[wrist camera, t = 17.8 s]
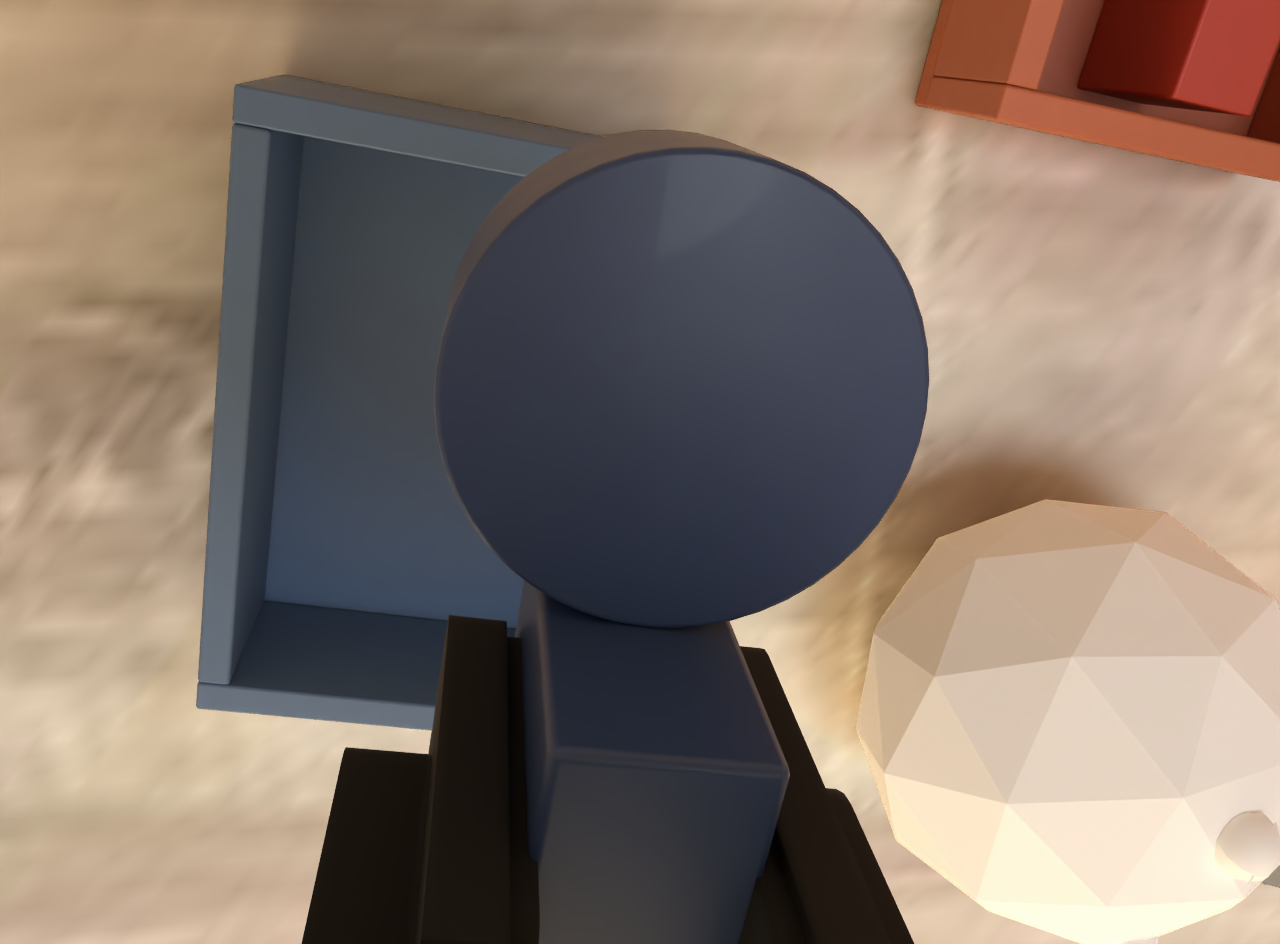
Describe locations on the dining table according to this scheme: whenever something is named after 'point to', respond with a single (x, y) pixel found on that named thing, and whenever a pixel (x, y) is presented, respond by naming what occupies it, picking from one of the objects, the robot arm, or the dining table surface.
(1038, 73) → the red bin
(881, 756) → the decorative ball
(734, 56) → the dining table surface
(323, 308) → the blue bin
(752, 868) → the blue spoon
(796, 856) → the robot arm
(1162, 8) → the red disc on stick
